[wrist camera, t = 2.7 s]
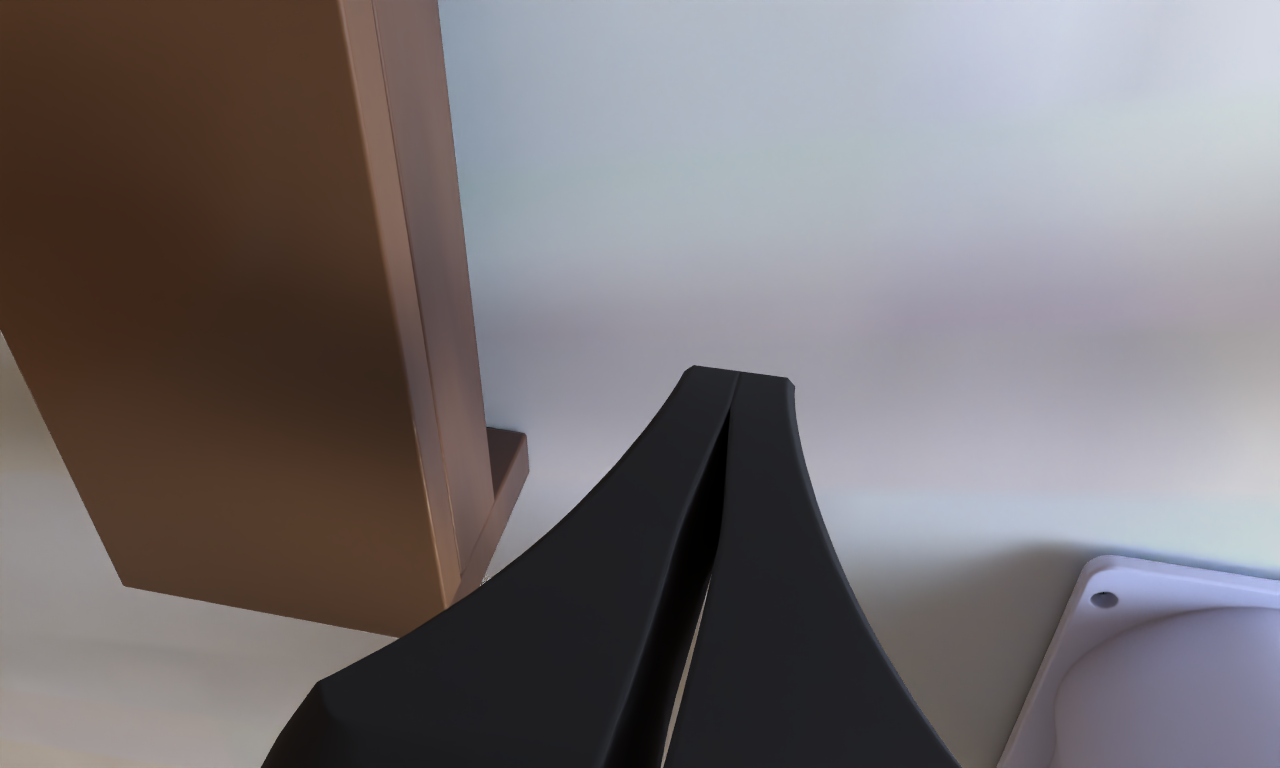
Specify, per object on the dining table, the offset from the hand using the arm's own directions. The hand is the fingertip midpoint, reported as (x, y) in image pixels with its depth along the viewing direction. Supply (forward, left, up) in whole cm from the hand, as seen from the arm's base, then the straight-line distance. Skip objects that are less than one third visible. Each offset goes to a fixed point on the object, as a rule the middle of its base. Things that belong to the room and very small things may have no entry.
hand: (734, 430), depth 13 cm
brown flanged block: (0, +8, -6) cm, 10 cm away
